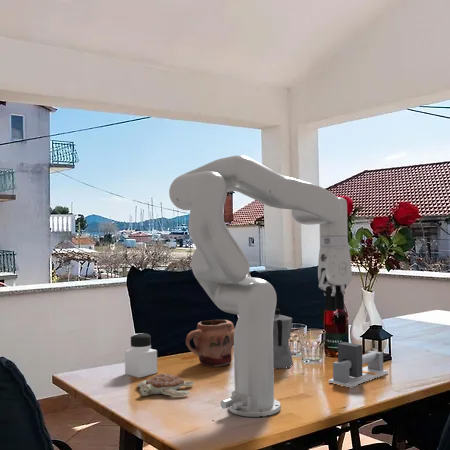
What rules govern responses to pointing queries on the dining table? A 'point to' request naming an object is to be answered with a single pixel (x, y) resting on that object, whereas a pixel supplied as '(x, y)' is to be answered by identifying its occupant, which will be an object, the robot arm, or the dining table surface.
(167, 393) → the decorative turtle
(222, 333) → the brown clay mug
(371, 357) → the pipe rig
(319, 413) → the dining table surface
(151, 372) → the medicine bottle
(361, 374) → the dark grey sliding block
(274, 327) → the coffeepot
